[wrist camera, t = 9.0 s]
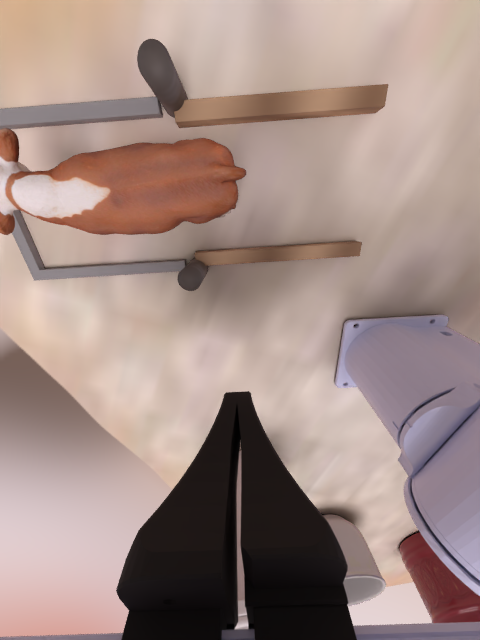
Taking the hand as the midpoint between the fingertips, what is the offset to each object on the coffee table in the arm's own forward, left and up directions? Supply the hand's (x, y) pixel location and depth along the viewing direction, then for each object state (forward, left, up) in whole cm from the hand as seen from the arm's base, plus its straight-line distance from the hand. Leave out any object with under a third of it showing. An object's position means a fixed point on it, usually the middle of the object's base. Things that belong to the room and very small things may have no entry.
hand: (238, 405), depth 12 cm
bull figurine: (+6, -11, -10) cm, 16 cm away
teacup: (-12, +40, -10) cm, 43 cm away
